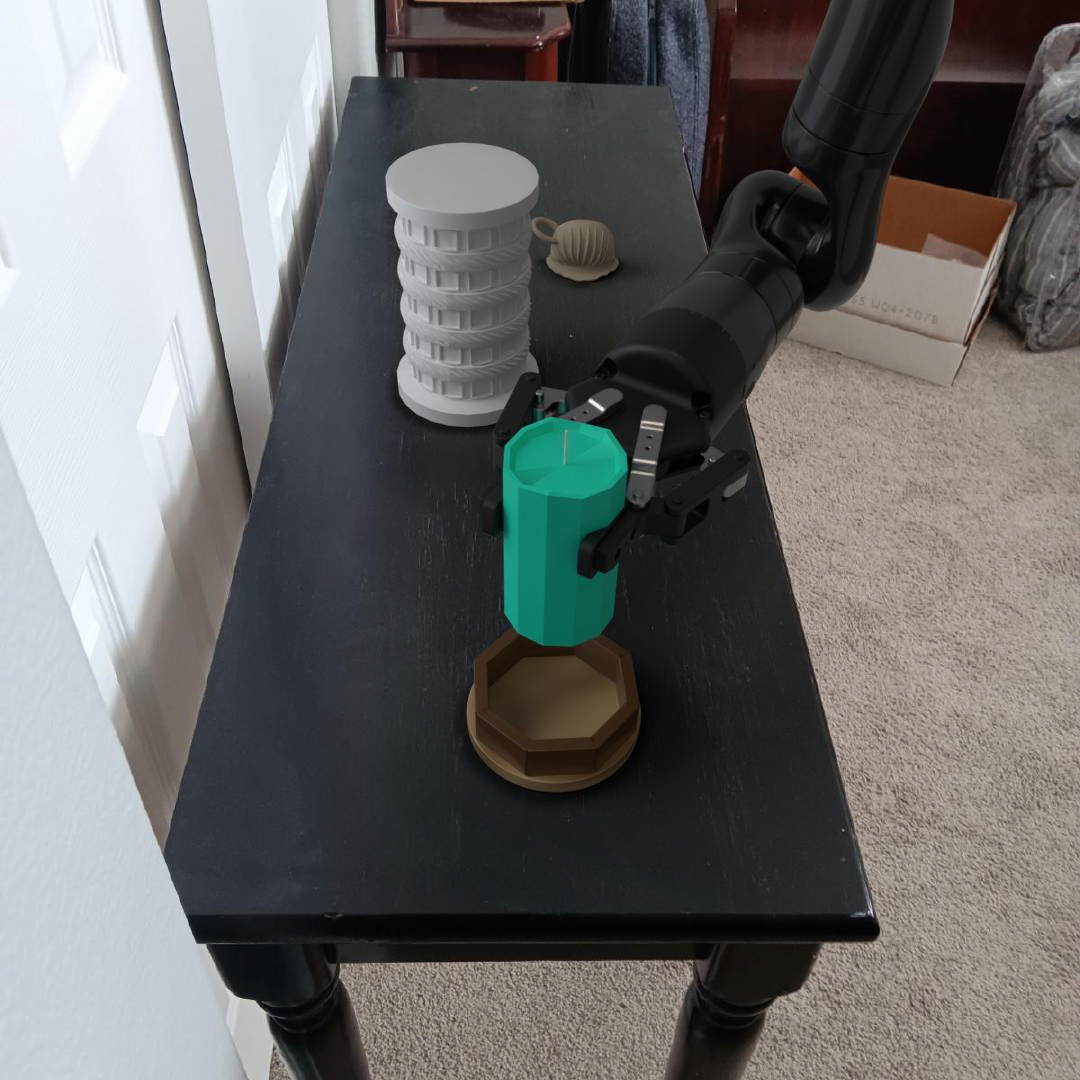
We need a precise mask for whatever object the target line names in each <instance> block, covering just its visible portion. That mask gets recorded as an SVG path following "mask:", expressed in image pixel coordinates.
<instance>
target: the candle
mask: <svg viewBox="0 0 1080 1080" xmlns="http://www.w3.org/2000/svg"><path fill="white" fill-rule="evenodd" d="M627 473H628V467H627V456H626V452H625V451H624V450H623V448H622V447H621V445H620V444H619V442H618V441H617V439H616V438H615V436H614V435H613V433H612V432H611V431H610V430H609V429H605V428H601V427H597V426H593V425H589V424H584V423H580V422H575V421H570V420H565V419H559V418H558V417H554V416H551V417H548V418H546V419H543V420H541V421H538V422H536V423H533V424H530V425H528V426H525V427H523V428H521V429H520V430H519V431H518V433H517V434H516V435H515V436H514V437H513V438H512V439H511V440H510V441H509V442H508V443H507V444H506V445H505V448H504V462H503V523H504V531H503V607H504V608H503V611H504V612H503V613H504V615H505V617H506V618H507V619H508V621H509V622H510V624H511V625H512V627H514V628H515V630H516V631H517V633H518V634H521V635H523V636H525V637H527V638H529V639H531V640H533V641H535V642H537V643H539V644H541V645H543V646H571V647H573V646H576V645H578V644H580V643H583V642H585V641H588V640H590V639H592V638H595V637H597V636H599V635H600V634H602V633H603V631H604V630H605V628H606V627H607V626H608V624H609V623H610V622H611V620H612V619H613V618H614V612H615V611H614V610H615V601H616V592H617V581H618V571H619V562H620V561H619V562H618V564H617V565H616V566H615V567H614V569H613V570H611V571H609V572H607V573H605V574H604V573H601V572H599V571H598V572H597V574H596V575H595V576H594V577H593V578H592V579H588V578H586V577H584V576H581V575H579V574H577V559H578V550H579V546H580V544H581V542H582V541H583V539H584V538H585V537H586V535H587V534H588V533H590V532H593V531H596V530H599V529H601V528H604V527H607V526H609V524H610V523H611V522H612V521H613V520H614V518H615V517H616V516H617V515H618V514H619V512H620V511H621V510H622V509H623V507H624V503H625V498H626V491H627V486H626V483H627Z"/></svg>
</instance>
